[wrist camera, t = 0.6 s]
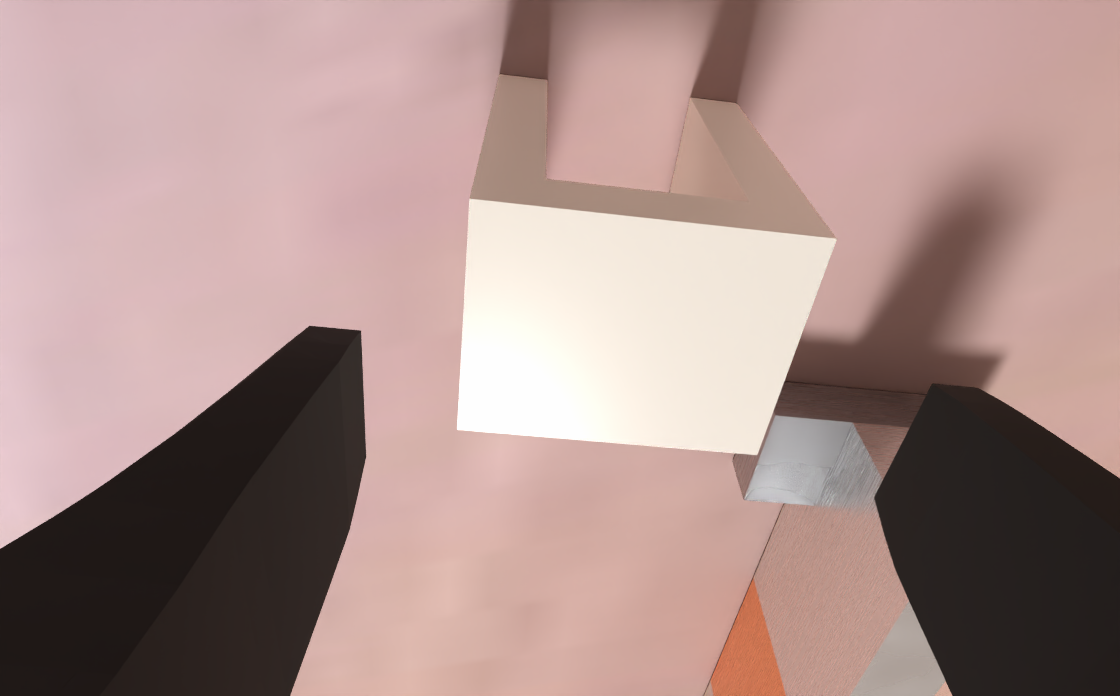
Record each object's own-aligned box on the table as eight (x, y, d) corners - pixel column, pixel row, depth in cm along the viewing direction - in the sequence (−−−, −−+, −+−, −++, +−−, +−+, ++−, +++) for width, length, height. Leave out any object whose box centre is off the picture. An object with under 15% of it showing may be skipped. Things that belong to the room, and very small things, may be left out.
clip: (736, 103, 15) (836, 238, 10) (694, 270, 18) (757, 455, 12) (499, 74, 15) (469, 198, 10) (486, 248, 17) (456, 430, 12)
